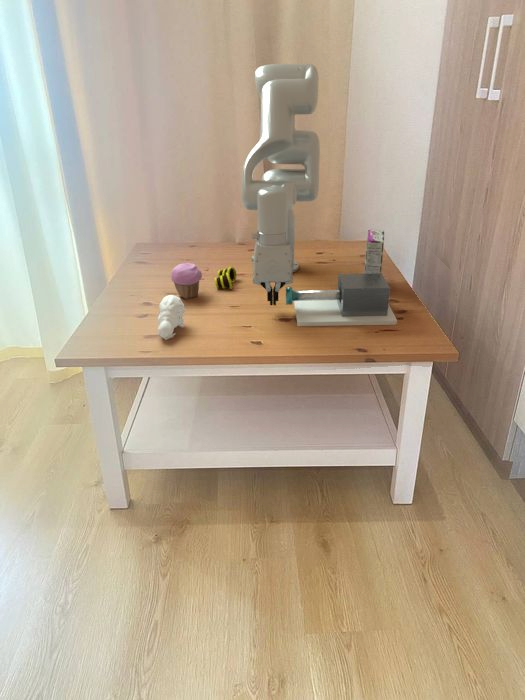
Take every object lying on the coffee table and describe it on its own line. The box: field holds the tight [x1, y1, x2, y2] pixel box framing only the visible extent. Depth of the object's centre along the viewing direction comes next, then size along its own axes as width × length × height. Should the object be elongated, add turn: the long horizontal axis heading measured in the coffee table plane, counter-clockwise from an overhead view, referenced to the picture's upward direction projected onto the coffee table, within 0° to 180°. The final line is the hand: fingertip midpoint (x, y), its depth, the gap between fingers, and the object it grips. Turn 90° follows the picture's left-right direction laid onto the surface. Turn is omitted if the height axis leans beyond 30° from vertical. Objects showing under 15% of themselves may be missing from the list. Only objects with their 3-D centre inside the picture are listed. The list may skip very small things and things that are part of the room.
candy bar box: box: [363, 229, 385, 274], centre depth 159 cm, size 11×5×16 cm, turn 168°
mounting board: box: [293, 300, 398, 327], centre depth 148 cm, size 26×16×1 cm, turn 91°
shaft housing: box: [337, 272, 391, 317], centre depth 145 cm, size 12×10×8 cm
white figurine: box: [157, 294, 185, 341], centre depth 137 cm, size 6×8×12 cm
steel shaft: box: [285, 286, 342, 306], centre depth 145 cm, size 23×5×5 cm, turn 91°
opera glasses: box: [214, 266, 237, 290], centre depth 166 cm, size 10×5×5 cm, turn 173°
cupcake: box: [170, 262, 203, 300], centre depth 157 cm, size 9×9×10 cm
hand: (272, 303), depth 146 cm, fingers closed
